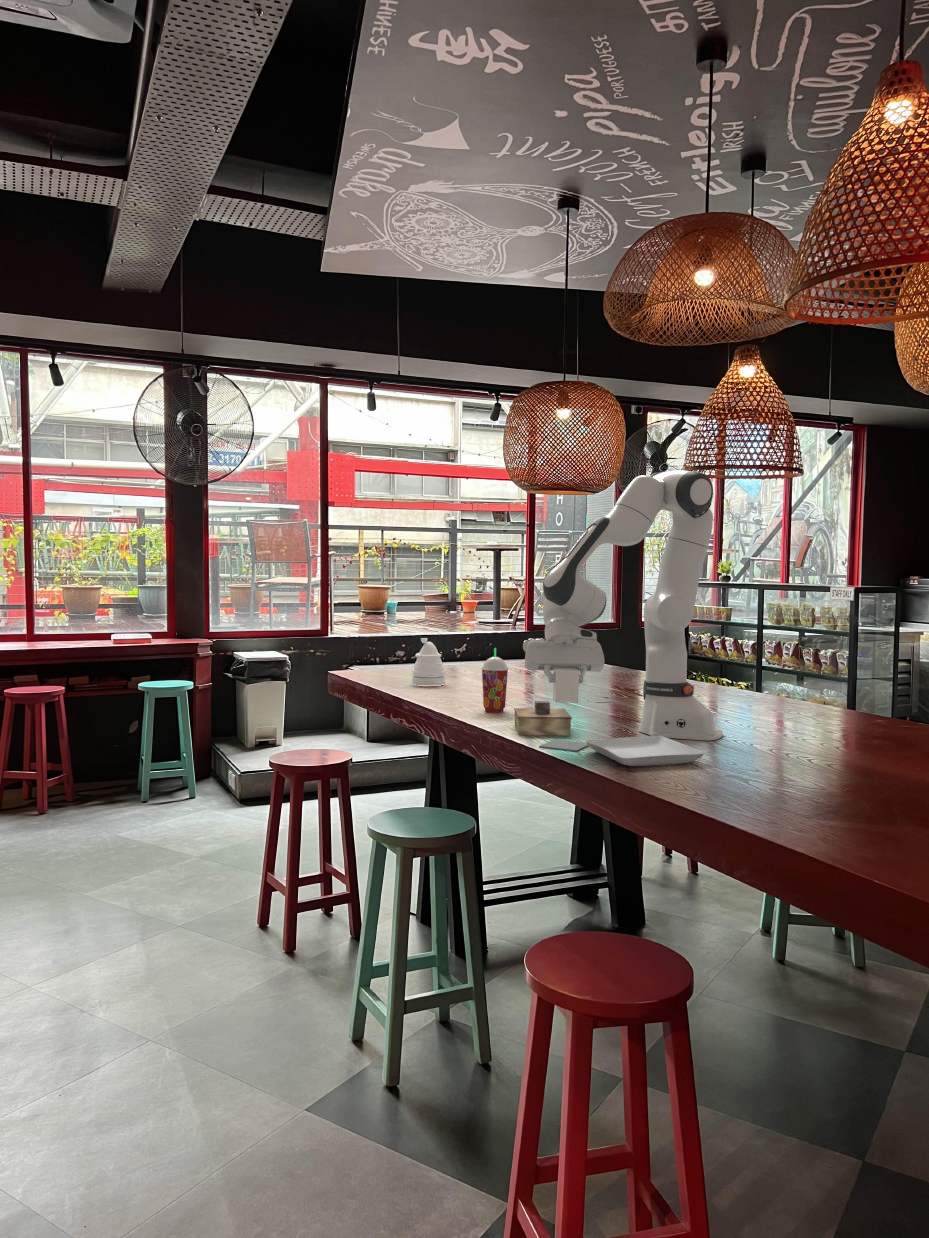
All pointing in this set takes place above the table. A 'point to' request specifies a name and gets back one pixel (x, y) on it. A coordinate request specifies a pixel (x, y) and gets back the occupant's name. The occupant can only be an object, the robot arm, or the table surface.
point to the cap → (566, 685)
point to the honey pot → (428, 666)
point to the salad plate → (645, 750)
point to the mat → (564, 745)
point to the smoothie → (494, 684)
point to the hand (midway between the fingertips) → (566, 681)
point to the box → (542, 720)
